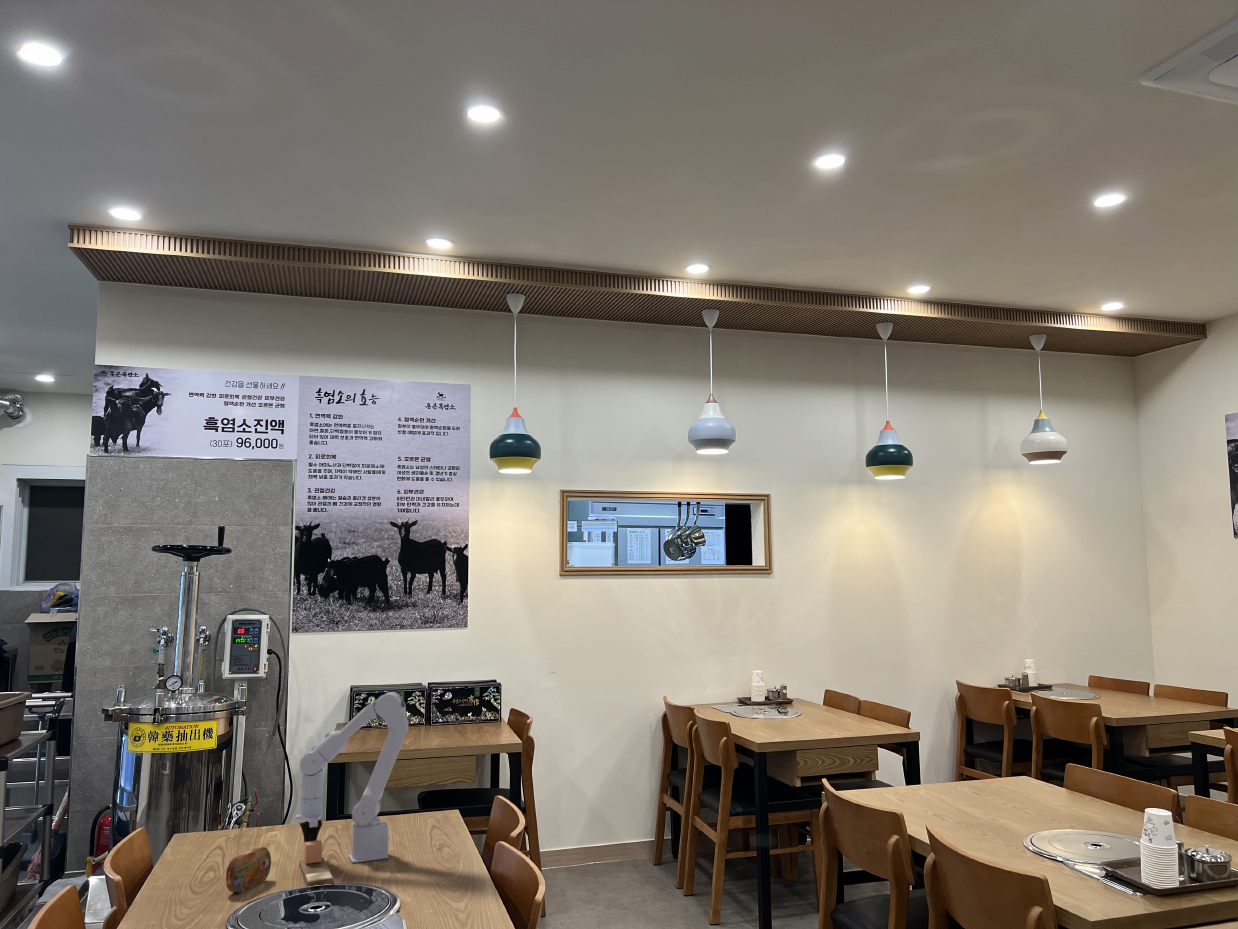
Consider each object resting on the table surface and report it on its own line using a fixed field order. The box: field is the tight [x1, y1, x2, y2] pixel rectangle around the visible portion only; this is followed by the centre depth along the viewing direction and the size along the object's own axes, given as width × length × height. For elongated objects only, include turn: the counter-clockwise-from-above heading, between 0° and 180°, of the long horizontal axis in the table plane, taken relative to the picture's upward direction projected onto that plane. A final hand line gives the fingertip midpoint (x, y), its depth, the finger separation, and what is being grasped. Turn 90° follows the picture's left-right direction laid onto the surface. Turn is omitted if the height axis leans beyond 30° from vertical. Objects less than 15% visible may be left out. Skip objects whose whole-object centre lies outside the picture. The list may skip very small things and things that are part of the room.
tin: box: [225, 846, 272, 894], centre depth 211 cm, size 15×3×8 cm, turn 168°
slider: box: [303, 839, 323, 864], centre depth 226 cm, size 4×4×4 cm
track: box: [298, 856, 334, 888], centre depth 219 cm, size 6×22×2 cm, turn 25°
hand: (309, 850), depth 233 cm, fingers closed
